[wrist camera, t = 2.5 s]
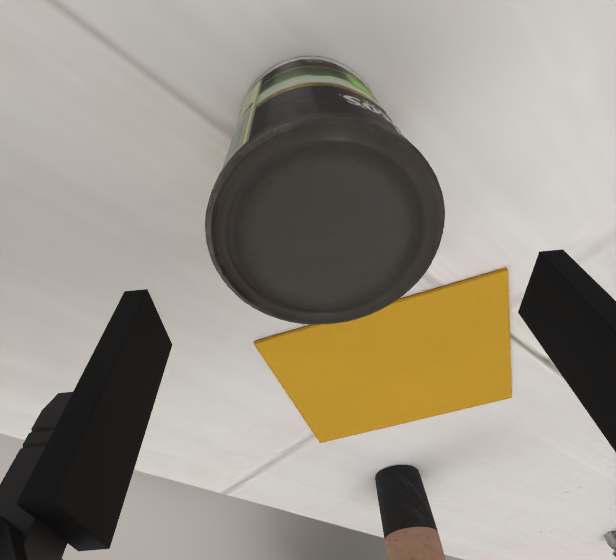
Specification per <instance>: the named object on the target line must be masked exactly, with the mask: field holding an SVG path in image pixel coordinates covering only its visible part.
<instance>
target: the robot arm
mask: <svg viewBox="0 0 616 560" xmlns="http://www.w3.org/2000/svg"><path fill="white" fill-rule="evenodd" d="M518 313H519V314H520V316H521V317H522V319H523V320H524V322H525V323H526V324H527V326H528V327H529V329H530V330H531V332H532V333H533V334H534V336H535V337H536V339H537V340H538V342H539V343H540V344H541V346H542V347H543V349H544V350H545V352H546V353H547V354H548V356H549V357H550V359H551V360H552V362H553V363H554V364H555V366H556V367H557V369H558V370H559V372H560V373H561V374H562V376H563V377H564V379H565V380H566V382H567V383H568V384H569V386H570V387H571V389H572V390H573V392H574V393H575V395H576V396H577V397H578V399H579V400H580V402H581V403H582V405H583V406H584V407H585V409H586V410H587V412H588V413H589V415H590V416H591V417H592V419H593V420H594V422H595V423H596V425H597V426H598V427H599V429H600V430H601V432H602V433H603V435H604V436H605V437H606V439H607V440H608V442H609V443H610V445H611V446H612V447H613V449H614V450H615V452H616V301H615V300H614V299H613V298H612V297H611V296H610V295H609V294H608V293H607V292H606V291H605V290H604V289H603V288H602V287H601V286H600V285H599V284H598V283H597V282H595V281H594V280H593V279H592V278H591V277H590V276H589V275H588V274H587V273H586V272H585V271H584V270H583V269H582V268H581V267H580V266H579V265H578V264H577V263H576V262H575V261H574V260H573V259H572V258H571V257H570V256H569V255H568V254H567V253H566V252H565V251H564V250H553V251H543V252H539V255H538V258H537V260H536V263H535V266H534V269H533V272H532V275H531V277H530V280H529V283H528V286H527V289H526V292H525V294H524V297H523V300H522V303H521V306H520V309H519V311H518ZM171 347H172V343H171V341H170V339H169V337H168V334H167V332H166V330H165V328H164V325H163V323H162V321H161V319H160V317H159V314H158V312H157V310H156V308H155V305H154V303H153V301H152V299H151V297H150V294H149V292H148V290H147V289H146V290H135V291H125V292H124V294H123V296H122V298H121V300H120V302H119V304H118V306H117V308H116V310H115V312H114V313H113V315H112V317H111V319H110V321H109V323H108V325H107V327H106V329H105V331H104V333H103V335H102V337H101V339H100V341H99V343H98V345H97V347H96V349H95V351H94V353H93V355H92V356H91V358H90V360H89V362H88V364H87V366H86V368H85V370H84V372H83V374H82V376H81V378H80V380H79V382H78V384H77V386H76V388H75V390H74V392H68V393H58V394H57V395H56V396H55V397H54V399H53V400H52V401H51V402H50V403H49V404H48V405H47V406H46V407H45V408H44V409H43V410H42V411H41V413H40V415H39V417H38V418H37V420H36V422H35V424H34V426H33V427H32V432H31V433H29V434H28V436H27V438H26V440H25V442H24V443H23V448H22V449H20V451H19V452H18V454H17V456H16V458H15V459H14V461H13V463H12V465H11V466H10V468H9V470H8V472H7V474H6V476H5V477H4V479H3V481H2V482H1V484H0V560H63V559H62V556H63V553H64V550H65V548H66V545H67V543H68V544H70V545H71V546H72V547H74V548H75V549H76V550H78V551H86V550H98V549H109V548H110V545H111V542H112V539H113V535H114V532H115V529H116V526H117V522H118V519H119V516H120V513H121V509H122V506H123V503H124V500H125V496H126V493H127V490H128V487H129V483H130V480H131V477H132V474H133V470H134V467H135V464H136V461H137V457H138V454H139V451H140V448H141V444H142V441H143V438H144V435H145V431H146V428H147V425H148V422H149V418H150V415H151V412H152V409H153V405H154V402H155V399H156V396H157V392H158V389H159V386H160V383H161V379H162V376H163V373H164V370H165V366H166V363H167V360H168V357H169V353H170V350H171Z"/></svg>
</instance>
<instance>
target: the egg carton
mask: <svg viewBox="0 0 616 560" xmlns="http://www.w3.org/2000/svg"><path fill="white" fill-rule="evenodd" d="M605 539H606V541H607V543H608V545H609V546H610V547H611V548H612V549H614V552H613V555H614V556H615V557H616V532H609V533H607V534H606V535H605Z"/></svg>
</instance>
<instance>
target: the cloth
mask: <svg viewBox="0 0 616 560" xmlns="http://www.w3.org/2000/svg"><path fill="white" fill-rule="evenodd" d="M254 345H255V346H256V348H257V349H258V351H259V352H260V354H261V355H262V357H263V358H264V360H265V361H266V363H267V364H268V366H269V367H270V369H271V370H272V372H273V373H274V375H275V376H276V378H277V379H278V381H279V382H280V384H281V385H282V387H283V388H284V390H285V391H286V393H287V394H288V396H289V397H290V399H291V400H292V402H293V403H294V405H295V406H296V408H297V409H298V411H299V412H300V414H301V415H302V417H303V418H304V420H305V421H306V423H307V424H308V426H309V427H310V429H311V430H312V432H313V433H314V435H315V436H316V438H317V439H318V441H319V442H320V443H322V442H326V441H331V440H335V439H339V438H343V437H347V436H352V435H356V434H360V433H364V432H369V431H373V430H377V429H381V428H386V427H390V426H394V425H398V424H403V423H407V422H411V421H415V420H419V419H424V418H428V417H432V416H436V415H441V414H445V413H449V412H453V411H458V410H462V409H466V408H470V407H475V406H479V405H483V404H487V403H492V402H496V401H500V400H504V399H508V398H512V389H511V356H510V322H509V289H508V270H507V268H504V269H501V270H498V271H494V272H491V273H487V274H484V275H480V276H477V277H474V278H470V279H467V280H463V281H460V282H456V283H453V284H450V285H446V286H443V287H439V288H436V289H433V290H429V291H426V292H422V293H419V294H415V295H412V296H409V297H405V298H402V299H398V300H396V301H394V302H393V303H391V304H390V305H388V306H387V307H385V308H383V309H381V310H379V311H377V312H375V313H373V314H371V315H368V316H365V317H362V318H359V319H356V320H352V321H348V322H342V323H335V324H321V325H309V326H306V327H302V328H299V329H295V330H292V331H289V332H285V333H282V334H278V335H275V336H271V337H268V338H265V339H261V340H258V341H255V342H254Z"/></svg>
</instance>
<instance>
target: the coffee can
mask: <svg viewBox="0 0 616 560" xmlns="http://www.w3.org/2000/svg"><path fill="white" fill-rule="evenodd" d="M444 218H445V209H444V200H443V195H442V191H441V188H440V185H439V183H438V180H437V177H436V175H435V173H434V172H433V170H432V168H431V167H430V165H429V163H428V162H427V160H426V159H425V158H424V157H423V155H422V154H421V153H420V152H419V150H418V149H417V148H416V147H414V146H413V145H412V144H411V143H410V142H409V141H408V140H407V139H406V138H405V137H404V136H403V135H402V134H401V132H400V131H399V129H398V128H397V127H396V126H395V124H394V123H393V122H392V121H391V119H390V118H389V117H388V115H387V114H386V113H385V111H384V110H383V109H382V108H381V106H380V105H379V104H378V102H377V101H376V100H375V98H374V97H373V96H372V93H371V91H370V89H369V88H368V87H367V86H366V84H365V83H364V81H363V80H362V79H361V78H360V77H359V76H358V75H357V74H356V73H355V72H353V71H352V70H351V69H349V68H348V67H346V66H344V65H343V64H341V63H339V62H336V61H334V60H331V59H328V58H323V57H319V56H303V57H296V58H292V59H289V60H286V61H283V62H281V63H279V64H277V65H275V66H274V67H272V68H270V69H269V70H268V71H266V72H265V73H264V74H262V75H261V76H260V77H259V78H258V79H257V80H256V81H255V83H254V84H253V86H252V87H251V88H250V90H249V92H248V93H247V95H246V97H245V99H244V102H243V104H242V107H241V110H240V115H239V120H238V123H237V126H236V129H235V132H234V135H233V138H232V141H231V145H230V148H229V151H228V154H227V157H226V160H225V163H224V166H223V169H222V171H221V173H220V174H219V176H218V178H217V180H216V183H215V185H214V187H213V189H212V192H211V195H210V198H209V202H208V206H207V210H206V218H205V231H206V242H207V246H208V250H209V253H210V256H211V259H212V262H213V264H214V266H215V268H216V270H217V271H218V273H219V275H220V276H221V278H222V279H223V281H224V282H225V283H226V284H227V286H228V287H229V288H230V289H231V290H232V291H233V292H234V293H235V294H236V295H237V296H238V297H239V298H241V299H242V300H243V301H244V302H245V303H247V304H249V305H250V306H252V307H253V308H255V309H257V310H259V311H261V312H263V313H265V314H267V315H270V316H272V317H275V318H278V319H281V320H285V321H289V322H294V323H301V324H313V325H321V324H335V323H342V322H348V321H352V320H356V319H359V318H362V317H365V316H368V315H371V314H373V313H375V312H377V311H379V310H381V309H383V308H385V307H387V306H388V305H390V304H391V303H393V302H394V301H396V300H397V299H399V298H400V297H401V296H403V295H404V294H405V293H406V292H408V291H409V290H410V289H411V288H412V287H413V286H414V285H415V284H416V283H417V282H418V281H419V280H420V278H421V277H422V276H423V275H424V273H425V272H426V271H427V269H428V268H429V266H430V265H431V263H432V260H433V258H434V256H435V255H436V252H437V250H438V247H439V244H440V241H441V237H442V233H443V228H444Z"/></svg>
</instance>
